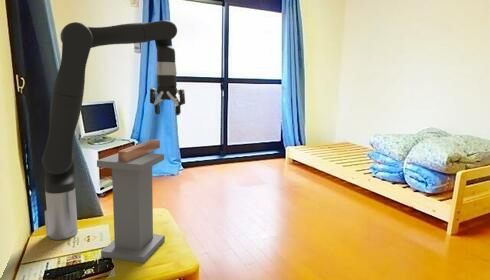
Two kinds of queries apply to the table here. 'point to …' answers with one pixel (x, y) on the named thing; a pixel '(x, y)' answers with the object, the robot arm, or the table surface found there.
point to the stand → (132, 208)
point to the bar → (138, 150)
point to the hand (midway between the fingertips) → (167, 114)
